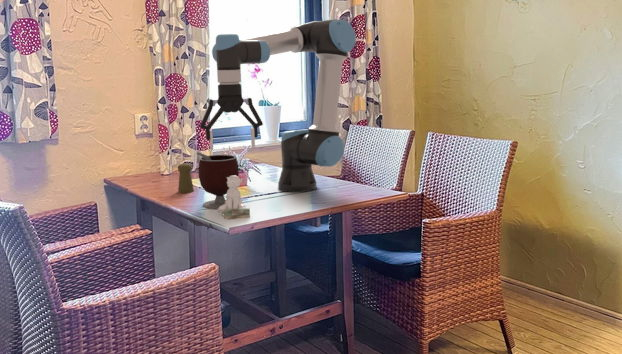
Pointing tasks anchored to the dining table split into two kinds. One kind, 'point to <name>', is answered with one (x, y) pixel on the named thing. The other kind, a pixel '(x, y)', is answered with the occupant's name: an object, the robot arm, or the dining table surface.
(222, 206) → the seated beast figurine
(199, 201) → the dining table surface
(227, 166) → the mate gourd
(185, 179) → the cork
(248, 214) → the green brown flat box
